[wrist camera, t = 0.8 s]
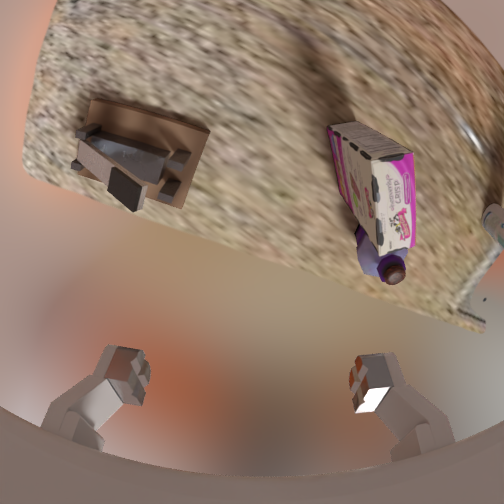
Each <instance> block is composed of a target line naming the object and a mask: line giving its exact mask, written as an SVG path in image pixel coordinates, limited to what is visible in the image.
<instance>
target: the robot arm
mask: <svg viewBox="0 0 504 504" xmlns="http://www.w3.org/2000/svg"><path fill="white" fill-rule="evenodd" d="M144 358H145V354H144V352H143V350H138V349H133V348H127V347H121V346H115V345H109V344H108V345H107V346H106V347H105V349H104V351H103V353H102V355H101V358H100V360H99V362H98V364H97V366H96V369H95V371H94V373H93V375H89V376H87V377H86V378H84V379H83V380H82V381H80V382H79V383H77V384H76V385H75V386H73V387H72V388H71V389H69V390H68V391H67V392H65V393H64V394H62V395H61V396H60V397H58V398H57V399H55V400H54V401H53V402H51V404H50V406H49V408H48V411H47V413H46V416H45V418H44V420H43V423H42V425H41V427H38V426H36V425H34V424H32V423H30V422H28V421H26V420H24V419H22V418H20V417H18V416H16V415H14V414H13V413H11V412H9V411H7V410H6V409H4V408H2V407H1V406H0V504H504V421H502V422H500V423H498V424H496V425H494V426H492V427H490V428H488V429H486V430H484V431H481V432H479V433H477V434H475V435H472V436H470V437H468V438H466V439H463V440H460V441H458V442H455V439H454V436H453V433H452V430H451V426H450V423H449V421H448V418H447V416H446V415H445V414H444V413H443V412H442V411H440V410H439V409H438V408H437V407H436V406H435V405H433V404H432V403H431V402H430V401H429V400H427V399H426V398H425V397H424V396H423V395H421V394H420V393H419V392H418V391H417V390H416V389H414V388H413V387H412V386H411V385H406V382H405V380H404V376H403V374H402V371H401V368H400V366H399V363H398V360H397V357H396V355H395V354H394V353H393V352H390V353H382V354H381V353H378V354H370V355H359V356H357V357H356V359H355V366H354V367H352V368H351V371H350V375H349V386H350V390H351V391H352V392H353V393H354V394H355V395H354V397H353V399H352V400H353V405H354V410H355V413H360V412H370V411H375V413H376V414H377V416H378V417H380V419H381V420H382V421H383V422H384V423H385V425H386V426H387V427H388V428H389V429H390V430H391V432H392V433H393V434H394V435H395V436H396V437H397V438H398V439H399V441H400V442H399V443H398V444H397V445H395V446H394V447H393V448H392V449H391V451H390V454H391V459H392V462H391V463H386V464H382V465H377V466H373V467H368V468H362V469H356V470H350V471H344V472H336V473H327V474H318V475H306V476H289V477H288V476H287V477H245V476H227V475H215V474H205V473H197V472H189V471H182V470H176V469H171V468H165V467H160V466H154V465H150V464H145V463H141V462H137V461H133V460H129V459H125V458H121V457H118V456H115V455H111V454H108V453H104V452H102V449H103V446H104V442H105V441H104V439H103V438H102V437H101V436H100V435H99V434H98V433H97V432H96V430H97V429H98V428H99V427H101V425H103V423H105V422H106V421H107V419H109V418H110V417H111V416H112V415H113V414H114V413H115V412H116V411H117V410H118V409H119V408H120V407H121V406H122V405H123V403H127V404H132V405H138V406H142V404H143V401H144V397H145V394H146V392H145V390H144V387H145V386H146V385H148V384H149V380H150V374H151V370H150V365H149V363H148V362H147V361H146V360H145V359H144Z"/></svg>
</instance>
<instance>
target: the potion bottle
mask: <svg viewBox="0 0 504 504" xmlns="http://www.w3.org/2000/svg"><path fill="white" fill-rule="evenodd" d="M354 234H355V236H356V240H357V247H356V248H357V255H358V261H359V263H360V265H361V268H362V270H363V272H364V274H367V275H372V276H377V277H380V279H381V281H382V282H386V283H387V284H389V285H395V284H398V283H399V282H401V281H402V280H403V279H404V278H405V274H406V273H405V270H406V268H405V264H404V261H403V260H404V258H405V256H406V255H407V253H408V250H407V249H405V248H404V249H402V250H400V251H396V252H392V253H389V254H386V255H382V256H379V255H378V253H377V251H376V249H375V247H374V246H373V244H372V243H371V241H370V239H369V238H368V236H367V234H366V233H365V231H364V230H363V228H362V226H361V225H360V223H359V225H358V227H357V229H356V231H355V233H354Z"/></svg>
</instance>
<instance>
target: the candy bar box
mask: <svg viewBox="0 0 504 504" xmlns="http://www.w3.org/2000/svg"><path fill="white" fill-rule="evenodd" d="M327 131H328V135H329V139H330V144H331V148H332V153H333V158H334V163H335V168H336V174H337V179H338V184H339V190H340V195H341V196H342V197H343V199H344V200H345V202H346V203H347V205H348V206H349V208H350V209H351V211H352V212H353V214H354V215H355V217H356V218H357V220H358V221H359V223H360V225H361V226H362V228H363V230H364V231H365V233H366V234H367V236H368V238H369V239H370V241H371V243H372V244H373V246H374V247H375V249H376V251H377V253H378V255H379V256H382V255H386V254H389V253H392V252H396V251H400V250H402V249H404V248H405V249H408V248H411V247H413V246H415V245H416V181H415V163H414V152H412V151H410V150H409V149H407V148H405V147H404V146H402V145H400V144H399V143H397V142H395V141H393V140H392V139H390V138H388V137H386V136H385V135H382V134H381V133H379V132H377V131H376V130H373V129H372V128H370V127H368V126H366V125H364V124H362V123H360V122H358V121H353V122H347V123H343V124H337V125H331V126H327Z"/></svg>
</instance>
